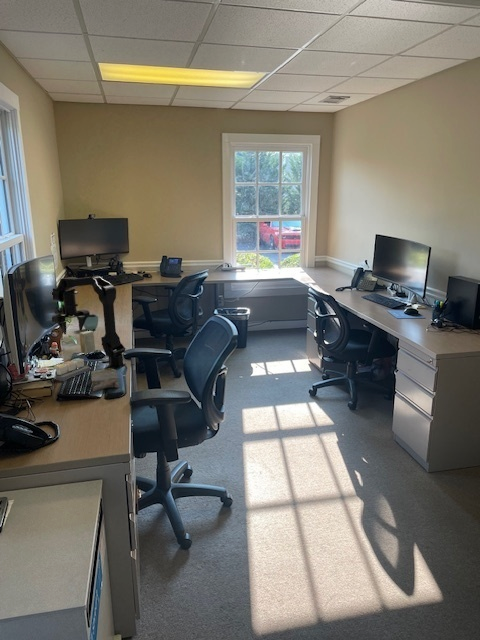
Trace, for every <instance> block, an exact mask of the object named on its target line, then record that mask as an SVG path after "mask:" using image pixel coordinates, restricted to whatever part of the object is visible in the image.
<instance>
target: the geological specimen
mask: <svg viewBox="0 0 480 640" xmlns="http://www.w3.org/2000/svg"><path fill="white" fill-rule="evenodd" d="M116 370H117V369H115V368H110V367H108V368H102V369H98V370H92V371H90V375H91V376H90V377H91V385H92V392H96V391H99V390H105V389H108V388H115V389H116V388H117V389H118V388H119V387H120V386H119V377H118V374H117V371H116Z"/></svg>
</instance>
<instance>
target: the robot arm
mask: <svg viewBox="0 0 480 640" xmlns="http://www.w3.org/2000/svg"><path fill="white" fill-rule="evenodd" d="M90 285H91V286H92V288H93V291H94V292H95V293H96V294H97V295H98V300H99V302H100V303H101V304H102V309H103V310H102V311H103V319H104V320H103V323H104V331H105V334H104V336H101V338H100V339H101V346H102V349H103V351H104V354H105V356H107V357H108V365H107V367H108V368H110V369H115V370H117V369H119V368H121V367H123V366H126V363H124V356H123V355H124V354H123V353H126V347H125V346H124V345H123V343H122V342H121V340H120V336H119V335H118V333H117V331H116V330H117V329H116V320H115V319H116V318H115V305H114V304H115V301H116V299H117V288H116V287H115V286H114V284H113V285H112V283H110V282H109V281H107V280H105V279H103V278H102V277H101V276H100V275H93V276H87V277H79V278H78V277H74V276H70V277H69V276H68V277H63V278H60V280H59V283H58V284H57V287H53V288H52V291H53V292H52V291H51V292H52V295H53V300H54V301H53V302H58V303H60V302H61V303H63V304H62V305H61V307H59V306H57V307H54V314H55V315H52V317H51V322H52V323H55V324H57V325H58V326H59V328H60V329H61V331H62V333H63V334H64V335H65V336H66V335H67V320H68V319H72V318H77V321H78V329H79V331H82V330H83V327H84V323H85V321H86V319H87V318H88V317H87V316H90V315H91V313H90V311H89V310H87V309H79V310H78V309H77V307H78V303H77V302H76V301H77V300H76V295H78V294H79V292H78V291H77V290H76V289H75V288H78V287H83V286H90Z"/></svg>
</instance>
